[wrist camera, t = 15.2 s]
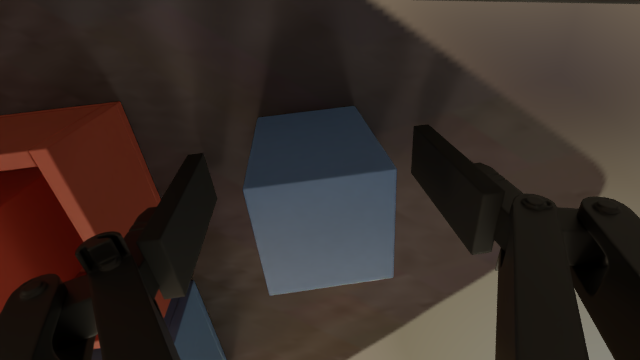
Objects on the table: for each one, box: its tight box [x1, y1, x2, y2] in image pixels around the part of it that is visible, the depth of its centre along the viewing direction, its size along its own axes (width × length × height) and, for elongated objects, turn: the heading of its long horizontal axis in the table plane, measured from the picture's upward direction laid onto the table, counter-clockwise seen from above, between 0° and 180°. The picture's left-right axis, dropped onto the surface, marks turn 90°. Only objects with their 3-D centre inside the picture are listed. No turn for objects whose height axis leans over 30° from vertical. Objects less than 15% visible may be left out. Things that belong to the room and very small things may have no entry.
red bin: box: [0, 101, 171, 349], centre depth 15 cm, size 13×10×6 cm
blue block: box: [243, 106, 397, 295], centre depth 14 cm, size 5×5×7 cm
